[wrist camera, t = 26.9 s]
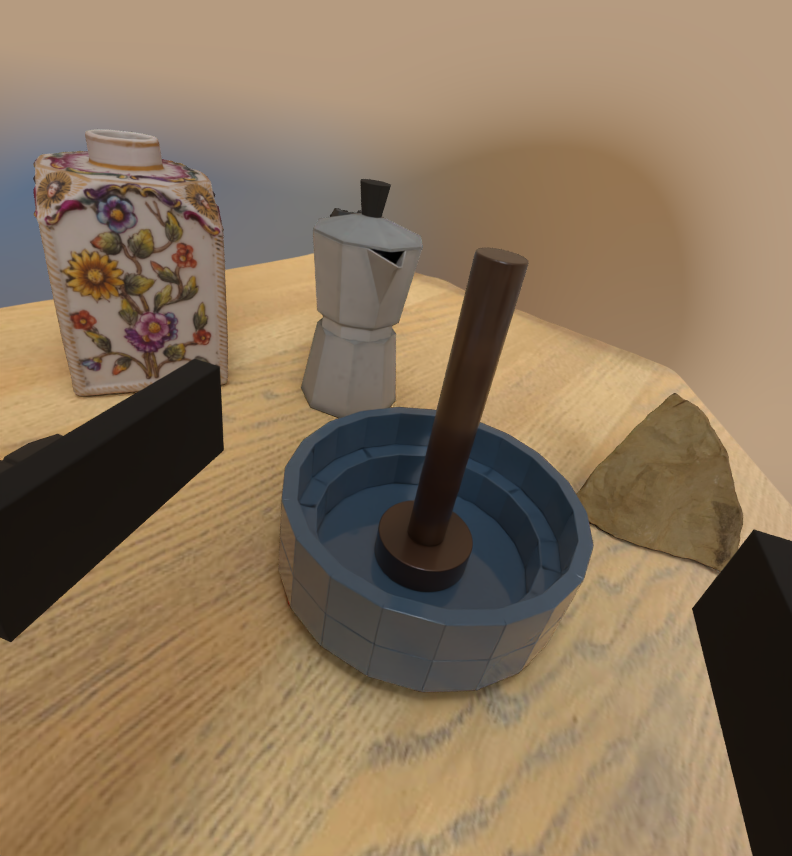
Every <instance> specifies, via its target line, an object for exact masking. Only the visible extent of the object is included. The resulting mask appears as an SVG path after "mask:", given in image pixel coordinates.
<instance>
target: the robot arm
mask: <svg viewBox="0 0 792 856" xmlns="http://www.w3.org/2000/svg"><path fill="white" fill-rule="evenodd" d="M222 451H224V444H223V422H222V400H221V378H220V366H217V365H214V364H211V363H208V362H204V361H201V360H198V359H193V360H191V361H189V362H188V363H186V364H184V365H183V366H181V367H179V368H178V369H176V370H174V371H172V372H171V373H169V374H167V375H166V376H164V377H162V378H161V379H159V380H157V381H156V382H154V383H152V384H150V385H149V386H147V387H145V388H144V389H142V390H140V391H139V392H137V393H135V394H134V395H132V396H130V397H128V398H127V399H125V400H123V401H122V402H120V403H118V404H117V405H115V406H113V407H112V408H110V409H108V410H107V411H105V412H103V413H101V414H100V415H98V416H96V417H95V418H93V419H91V420H90V421H88V422H86V423H85V424H83V425H81V426H79V427H78V428H76V429H74V430H73V431H71V432H69V433H68V434H66V435H64V436H62V435H59V434H56V435H52V436H49V437H46V438H43V439H40V440H37V441H34V442H31V443H28V444H26V445H24V446H23V447H21V448H19V449H17V450H16V451H14V452H12V453H10V454H9V455H7V456H5V457H4V459H3V460H2V461H1V460H0V638H2V639H5V640H7V641H9V642H12V641H13V640H14V639H15V638H16V637H17V636H18V635H19V634H21V633H22V632H23V631H24V630H25V629H26V628H27V627H28V626H29V625H31V624H32V623H33V622H34V621H35V620H36V619H37V618H38V617H39V616H41V615H42V614H43V613H44V612H45V611H46V610H47V609H48V608H49V607H51V606H52V605H53V604H54V603H55V602H56V601H57V600H58V599H59V598H60V597H62V596H63V595H64V594H65V593H66V592H67V591H68V590H69V589H70V588H72V587H73V586H74V585H75V584H76V583H77V582H78V581H79V580H80V579H82V578H83V577H84V576H85V575H86V574H87V573H88V572H89V571H90V570H92V569H93V568H94V567H95V566H96V565H97V564H98V563H99V562H100V561H102V560H103V559H104V558H105V557H106V556H107V555H108V554H109V553H110V552H112V551H113V550H114V549H115V548H116V547H117V546H118V545H119V544H120V543H121V542H123V541H124V540H125V539H126V538H127V537H128V536H129V535H130V534H131V533H133V532H134V531H135V530H136V529H137V528H138V527H139V526H140V525H141V524H143V523H144V522H145V521H146V520H147V519H148V518H149V517H150V516H151V515H153V514H154V513H155V512H156V511H157V510H158V509H159V508H160V507H161V506H163V505H164V504H165V503H166V502H167V501H168V500H169V499H170V498H171V497H173V496H174V495H175V494H176V493H177V492H178V491H179V490H180V489H181V488H182V487H184V486H185V485H186V484H187V483H188V482H189V481H190V480H191V479H192V478H194V477H195V476H196V475H197V474H198V473H199V472H200V471H201V470H202V469H204V468H205V467H206V466H207V465H208V464H209V463H210V462H211V461H212V460H214V459H215V458H216V457H217V456H218V455H219V454H220V453H221V452H222ZM692 610H693V614H694V618H695V622H696V626H697V630H698V634H699V639H700V643H701V647H702V651H703V655H704V659H705V663H706V667H707V671H708V675H709V679H710V683H711V688H712V692H713V696H714V700H715V704H716V708H717V712H718V716H719V720H720V724H721V728H722V732H723V737H724V741H725V745H726V749H727V753H728V757H729V761H730V765H731V769H732V773H733V777H734V781H735V786H736V790H737V794H738V798H739V802H740V806H741V810H742V814H743V818H744V822H745V826H746V830H747V834H748V839H749V843H750V847H751V851H752V855H753V856H792V541H790V540H786V539H783V538H780V537H776V536H773V535H770V534H767V533H763V532H760V531H757V530H753V531H752V532H751V534H750V535H749V536H748V538H747V539H746V540H745V541H744V543H743V544H742V545H741V547H740V548H739V549H738V550H737V552H736V553H735V554H734V556H733V557H732V558H731V559H730V561H729V562H728V563H727V565H726V566H725V567H724V568H723V570H722V571H721V572H720V574H719V575H718V576H717V577H716V579H715V580H714V581H713V582H712V584H711V585H710V586H709V588H708V589H707V590H706V591H705V593H704V594H703V595H702V597H701V598H700V599H699V600H698V602H697V603H696V604H695V606H694V607H693V608H692Z"/></svg>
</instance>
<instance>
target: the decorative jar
mask: <svg viewBox="0 0 792 856" xmlns="http://www.w3.org/2000/svg"><path fill="white" fill-rule="evenodd" d="M85 136H86V142H87V147H88V151H77V152H62V153H55V154H44V155H40V156H39V157H38V158H37V159H36V160H35V162H34V167H35V176H34V178H33V179H34V181H35V183H36V186H35V188H34V198H35V206H36V210H35V212H34V216H35V217H36V218H37V221H38V223H39V228H40V233H41V237H42V243H43V248H44V253H45V258H46V264H47V269H48V274H49V279H50V283H51V288H52V293H53V299H54V303H55V308H56V313H57V318H58V322H59V327H60V332H61V336H62V341H63V345H64V349H65V353H66V358H67V361H68V365H69V370H70V373H71V378H72V385H73V390H74V392H75V394H76V395H79V396H89V395H101V394H112V393H126V392H137V391H140V390H142V389H144V388H145V387H147V386H149V385H150V384H152V383H154V382H156V381H157V380H159V379H161V378H162V377H164V376H166V375H167V374H169V373H171V372H172V371H174V370H176V369H178V368H179V367H181V366H183V365H184V364H186V363H188V362H189V361H191V360H193V359H198V360H201V361H204V362H208V363H211V364H214V365H217V366H220V378H221V385H223V384H226V383H227V378H228V343H227V341H228V334H227V310H226V309H227V306H226V285H225V259H224V242H223V230H224V229H223V227H222V223H221V217H220V213H219V207H218V206H217V205H216V203H215V201H214V197H215V194H214V192H213V191H212V186H211V182H210V180H209V179H208V177H207V176H206V175H205V174H203V173H202V172H200V171H197V170H194V169H190V168H188V167H187V166H185V165H183V164H181V163H175V162H173V161H168V160H164V159H161V152H160V146H159V142H158V139H157V138H156V137H154V136H150V135H146V134H140V133H133V132H124V131H116V130H88V131H86V132H85Z"/></svg>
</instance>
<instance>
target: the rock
mask: <svg viewBox="0 0 792 856" xmlns="http://www.w3.org/2000/svg"><path fill="white" fill-rule="evenodd" d="M576 495H577V496H578V498H579V500H580V501H581V503H582V505H583V506H584V508H585V510H586V511H587V514H588V520H589V522H590V523H592V524H595V525H597V526H598V527H599V528H600V529H602V530H604V531H606V532H608V533H610V534H612V535H613V536H614V537H616V538H620V539H623V540H626V541H629V542H631V543H634V544H637V545H639V546H644V547H647V548H650V549H653V550H660V551H663V552H666V553H669V554H671V555H673V556H677V557H681V558H689V559H693V560H696V561H697V562H700V563H702V564H704V565H707V566H711V567H713V568H715V569H717V570H723V568H724V567H725V566H726V565H727V563H728V562H729V561H730V559H731V558H732V557H733V556H734V554H735V553H736V552H737V550H738V546H739V541H740V533H741V529H742V525H743V513H742V509H741V506H740V504H739V502H738V499H737V495H736V492H735V487H734V480H733V477H732V472H731V469H730V465H729V456H728V454H727V451H726V449H725V448H724V446H723V445H722V443H721V441H720V439H719V438H718V436H717V434H716V433H715V431H714V430H713V428H712V427H711V425H710V422H709V420H708V418H707V417H706V415H705V414H704V413H703V412H702V411H701V410H700V409H699V408H698V407H697V406H696V405H694V404H692V403H691V402H689V401H688V400H684V399H683V398H681V397H680V396H679V395H678V394H676V393H674V394H672V395H670V396H669V397H668V398H667V399H666V400H665V401H664V402H663V403H662V404H661V405H660V406H659V407H658V408H656V409H655V410H654V411H652V412H651V413H650V414H649V415H648V416H647V417H646V418H645V420H643V421H642V422H641V423H640V424H639V425H637V426H636V427H635V428H634V429H633V430H632V431H631V433H630V434H629V435H628V436H627V437H626V438H625V440H624V441H623V442H622V443H621V444H620V445H618V446H617V447H616V449H615V450H614V451H613V452H612V453H611V454H610V455H609V456H608V457H607V458H606V459H605V460H604V461H603V462H602V463H600V464H599V465H598V466H597V468H596V469H595V470H594V471H593V473H592V474H591V475H590V477H589V478H588V479H587V481H586V482H585V484H584V485H583V487H582V488H581V489H580V491H579V492H578V493H577V494H576Z"/></svg>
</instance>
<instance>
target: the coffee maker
mask: <svg viewBox="0 0 792 856" xmlns="http://www.w3.org/2000/svg"><path fill="white" fill-rule="evenodd" d="M390 186H391V185H390V184H388V183H385V182H381V181H376V180H370V179H369V180H368V179H361V207H362V211H361V210H359V211H358V212H357V213H354V212H348V211H345V210H341V209H339V208H335V209H334V211H333V212H332V214H331V215H330V217H328V218H320V219H319V220H318V221H317V223H316V224H315V226H314V228H313V242H314V261H315V279H316V297H317V311H319V312H320V313H321V314H322V315H323V318H322V319H320V320H319V321H318V322H317V326H316V330H315V334H314V338H313V342H312V346H311V350H310V354H309V357H308V361H307V365H306V369H305V373H304V377H303V381H302V385H301V389H302V391H303V393H304V395H305V397H306V399H307V401H308V403H309V405H310V407H311V408H314V409H317V410H319V411H322V412H325V413H327V414H330V415H333V416H336V417H338V418H341V417H344V416H347V415H350V414H353V413H356V412H359V411H363V410H373V409H383V408H389V407H390V406H391V405H392V404H393V403H394V402H395V389H396V333H395V332H394V330H393V328H392V326H393V325H395V324H397V323H399V320H400V317H401V314H402V311H403V307H404V304H405V301H406V298H407V295H408V291H409V288H410V285H411V282H412V279H413V276H414V272H415V269H416V266H417V263H418V260H419V256H420V253H421V250H422V248H423V245H422V241H421V236H420V235H418V234H416V233H414V232H412V231H410V230H408V229H406V228H404V227H402V226H400V225H398V224H396V223H394V222H392V221H390V220H388V219H386V218H384V217H382V213H383V210H384V207H385V203H386V200H387V197H388V193H389V190H390Z"/></svg>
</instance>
